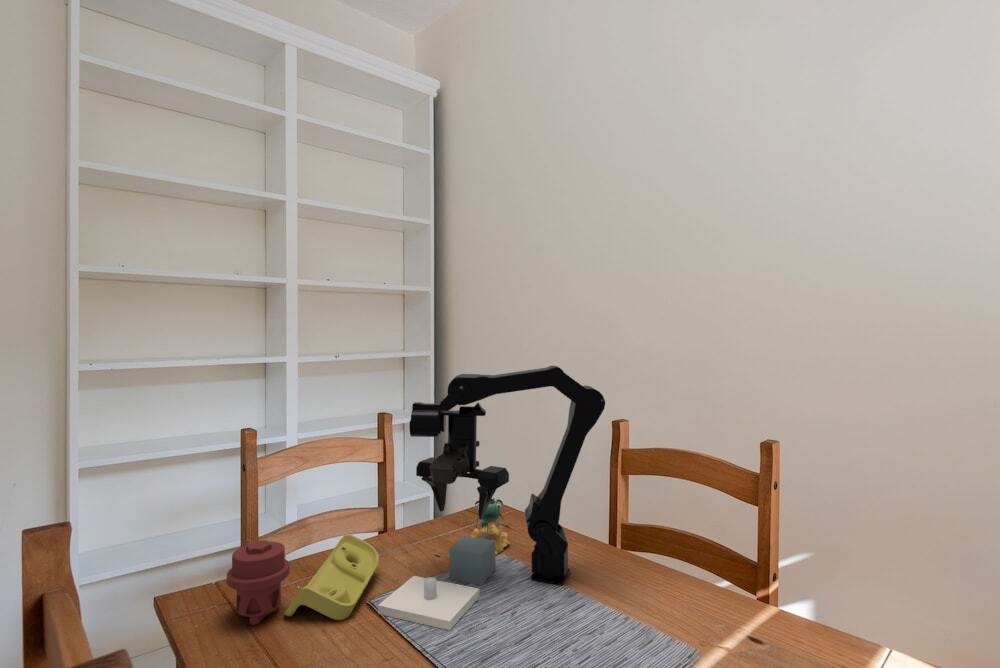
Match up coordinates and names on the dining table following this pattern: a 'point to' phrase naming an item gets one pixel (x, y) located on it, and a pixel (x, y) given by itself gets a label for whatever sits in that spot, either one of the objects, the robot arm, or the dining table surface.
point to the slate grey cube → (472, 559)
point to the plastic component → (339, 579)
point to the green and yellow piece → (492, 526)
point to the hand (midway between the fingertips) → (461, 514)
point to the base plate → (429, 602)
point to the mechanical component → (258, 578)
